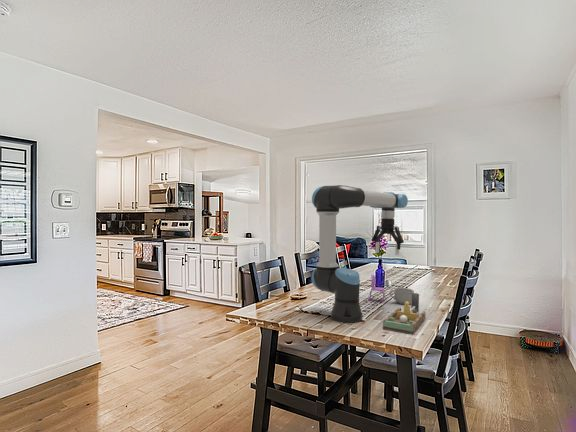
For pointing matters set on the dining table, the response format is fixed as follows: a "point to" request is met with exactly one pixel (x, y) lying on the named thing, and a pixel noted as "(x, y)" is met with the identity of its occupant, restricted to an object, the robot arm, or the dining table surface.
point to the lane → (415, 324)
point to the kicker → (413, 306)
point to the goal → (398, 324)
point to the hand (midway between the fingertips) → (387, 254)
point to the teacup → (402, 295)
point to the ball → (403, 319)
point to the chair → (376, 288)
